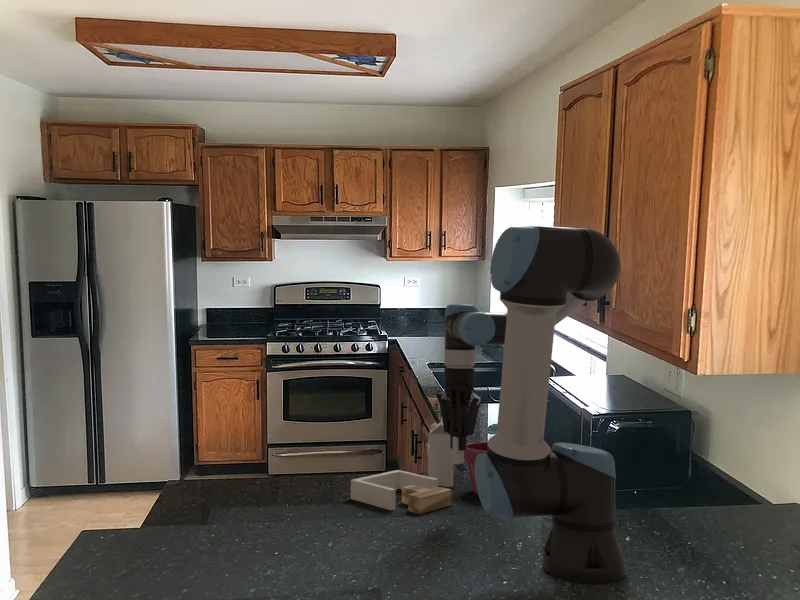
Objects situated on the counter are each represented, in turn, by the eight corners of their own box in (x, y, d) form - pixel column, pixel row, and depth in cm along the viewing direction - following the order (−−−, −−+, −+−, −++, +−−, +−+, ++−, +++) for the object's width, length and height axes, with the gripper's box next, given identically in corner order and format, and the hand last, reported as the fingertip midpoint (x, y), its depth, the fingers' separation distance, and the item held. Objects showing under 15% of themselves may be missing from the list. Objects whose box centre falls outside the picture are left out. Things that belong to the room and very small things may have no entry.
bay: (437, 497, 175) (438, 478, 175) (391, 510, 162) (391, 490, 162) (397, 487, 185) (397, 469, 185) (350, 498, 172) (350, 479, 172)
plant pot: (455, 494, 178) (456, 447, 179) (472, 483, 191) (473, 440, 191) (506, 501, 172) (507, 452, 173) (520, 489, 185) (520, 444, 185)
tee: (451, 505, 168) (451, 489, 168) (420, 514, 159) (420, 497, 159) (422, 497, 175) (422, 482, 175) (390, 505, 166) (391, 489, 166)
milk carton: (453, 482, 193) (453, 417, 194) (452, 487, 186) (453, 421, 187) (429, 481, 194) (430, 417, 194) (427, 486, 186) (428, 420, 187)
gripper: (490, 367, 158) (488, 465, 158) (448, 364, 167) (447, 456, 167) (471, 369, 153) (470, 470, 152) (429, 365, 162) (428, 461, 161)
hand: (458, 463), depth 159 cm, fingers closed
